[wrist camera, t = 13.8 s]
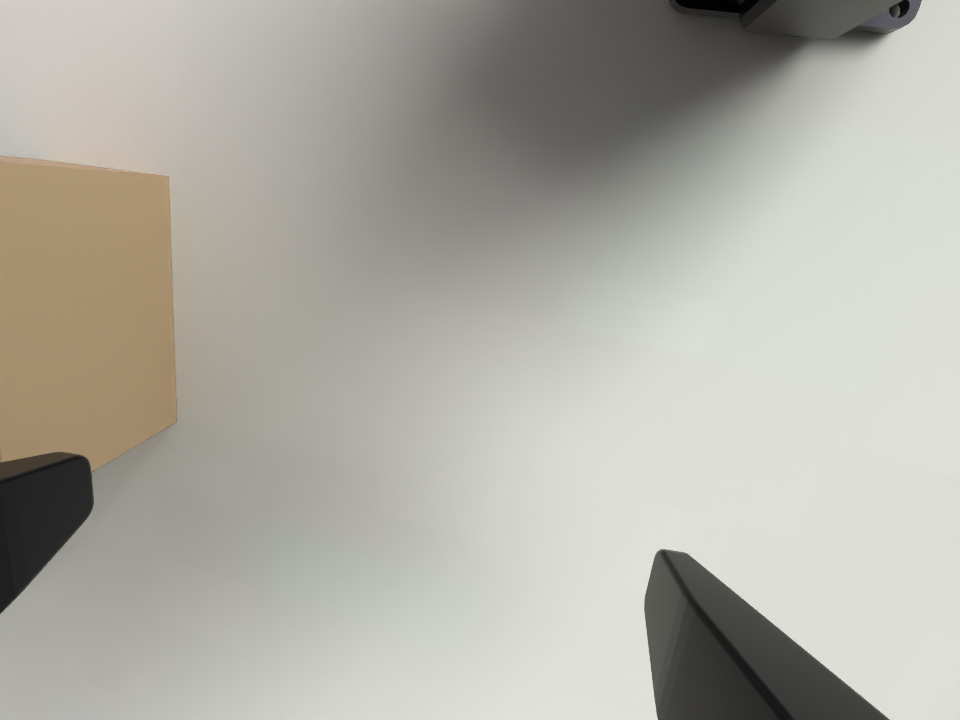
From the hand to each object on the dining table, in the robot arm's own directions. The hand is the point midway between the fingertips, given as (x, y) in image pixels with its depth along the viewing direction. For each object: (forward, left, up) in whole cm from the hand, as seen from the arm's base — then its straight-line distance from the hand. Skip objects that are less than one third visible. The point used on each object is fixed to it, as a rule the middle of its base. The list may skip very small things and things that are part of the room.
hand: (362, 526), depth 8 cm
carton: (0, -13, -11) cm, 17 cm away
